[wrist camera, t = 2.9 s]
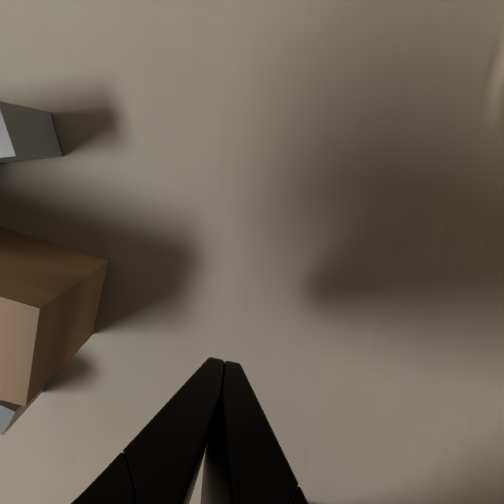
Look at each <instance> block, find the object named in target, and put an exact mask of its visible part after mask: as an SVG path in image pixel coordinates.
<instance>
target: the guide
mask: <svg viewBox="0 0 504 504" xmlns="http://www.w3.org/2000/svg"><path fill="white" fill-rule="evenodd" d="M61 156H62V152H61V149H60V145H59V142H58V138H57V135H56V131H55V128H54V124H53V121H52V117H51V114H50V112H46V111H41V110H37V109H32V108H28V107H23V106H18V105H14V104H9V103H5V102H0V163H8V162H17V161H26V160H35V159H44V158H52V157H61ZM44 387H45V386H44ZM44 387H43V388H44ZM43 388H42V390H43ZM42 390H41V391H40V392H39V393H38V394H37V395H36V396H35V397H34V398H33V399H32V400H31V401H30V402H29V404H28V405H27V406H22V405H18V404H14V403H11V402H7V401H3V400H0V434H1V435H4V434H5V432H6V431H7V430H8V429H9V428H10V427H11V426H12V425H13V424H14V422H15V421H16V420H17V419H18V418H19V417H20V416H21V415H22V414H23V413H24V411H25V410H26V409H27V408H28V407H29V406H30V405H31V404H32V403H33V402H34V400H35V399H36V398H37V397H38V396H39V395H40V394H41V392H42Z"/></svg>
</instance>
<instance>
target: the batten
mask: <svg viewBox="0 0 504 504" xmlns="http://www.w3.org/2000/svg"><path fill="white" fill-rule="evenodd" d="M107 265H108V261H107V260H104V259H101V258H97V257H94V256H91V255H88V254H85V253H82V252H79V251H75V250H72V249H69V248H66V247H63V246H60V245H56V244H53V243H50V242H47V241H44V240H41V239H38V238H34V237H31V236H28V235H25V234H22V233H19V232H16V231H12V230H9V229H6V228H3V227H0V400H3V401H7V402H11V403H14V404H18V405H22V406H27V405H28V404H29V402H30V401H31V400H32V399H33V398H34V397H35V396H36V395H37V394H38V393H39V392H40V391H41V390H42V388H43V387H44V386H45V385H46V384H47V383H48V382H49V381H50V380H51V379H52V378H53V377H54V376H55V374H56V373H57V372H58V371H59V370H60V369H61V368H62V367H63V366H64V365H65V364H66V363H67V362H68V360H69V359H70V358H71V357H72V356H73V355H74V354H75V353H76V352H77V351H78V350H79V349H80V348H81V346H82V345H83V344H84V343H85V342H86V341H87V340H88V339H89V338H90V337H91V336H92V335H93V332H94V327H95V322H96V318H97V313H98V308H99V303H100V298H101V294H102V289H103V284H104V279H105V275H106V270H107Z"/></svg>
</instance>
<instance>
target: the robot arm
mask: <svg viewBox="0 0 504 504" xmlns="http://www.w3.org/2000/svg"><path fill="white" fill-rule="evenodd" d="M205 449H206V451H205ZM204 453H205V458H204V468H203V481H202V493H201V504H308V502H307V500H306V498H305V496H304V494H303V492H302V490H301V488H300V487H299V486H298V482H297V480H296V478H295V476H294V474H293V471H292V469H291V467H290V465H289V463H288V461H287V459H286V457H285V455H284V453H283V451H282V449H281V447H280V445H279V443H278V441H277V439H276V436H275V434H274V432H273V430H272V428H271V426H270V424H269V422H268V420H267V418H266V416H265V414H264V412H263V410H262V408H261V406H260V404H259V401H258V399H257V397H256V395H255V393H254V391H253V389H252V387H251V385H250V383H249V381H248V379H247V377H246V375H245V373H244V371H243V369H242V367H241V365H240V364H239V363H235V362H230V361H225V363H224V361H223V360H221V359H217V358H212V357H210V358H208V359H207V360H206V361H205V362H204V363H203V364H202V366H201V367H200V368H199V369H198V370H197V371H196V372H195V373H194V374H193V375H192V376H191V377H190V379H189V380H188V381H187V382H186V383H185V384H184V385H183V386H182V387H181V388H180V389H179V390H178V392H177V393H176V394H175V395H174V396H173V397H172V398H171V399H170V400H169V401H168V402H167V403H166V405H165V406H164V407H163V408H162V409H161V410H160V411H159V412H158V413H157V414H156V415H155V416H154V417H153V419H152V420H151V421H150V422H149V423H148V424H147V425H146V426H145V427H144V428H143V429H142V430H141V432H140V433H139V434H138V435H137V436H136V437H135V438H134V439H133V440H132V441H131V442H130V443H129V445H128V446H127V447H126V448H125V449H124V450H123V453H120V454H119V455H118V456H117V457H116V458H115V459H114V460H113V462H112V463H111V464H110V465H109V466H108V467H107V468H106V469H105V470H104V471H103V472H102V473H101V474H100V475H99V476H98V477H97V478H96V479H95V480H94V481H93V482H92V483H91V484H90V485H89V486H88V488H87V489H86V490H85V491H84V492H83V493H82V494H81V495H80V496H79V497H77V498H76V499H75V500H74V501H73V502H72V503H71V504H189V503H190V499H191V496H192V493H193V490H194V486H195V483H196V480H197V477H198V473H199V470H200V467H201V464H202V460H203V456H204ZM297 486H298V487H297Z"/></svg>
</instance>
